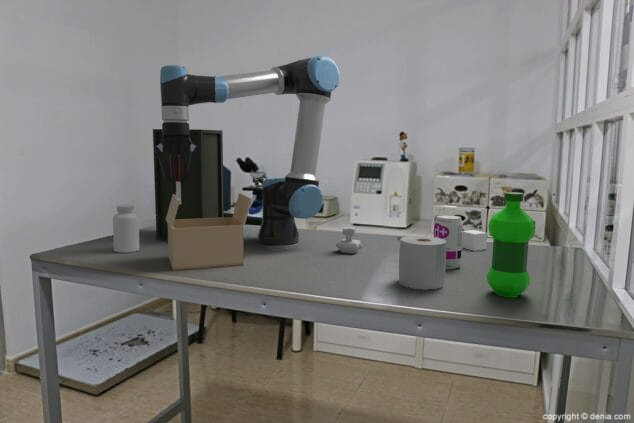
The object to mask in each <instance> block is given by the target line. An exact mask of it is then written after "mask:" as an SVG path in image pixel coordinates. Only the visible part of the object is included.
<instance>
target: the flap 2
mask: <svg viewBox="0 0 634 423" xmlns="http://www.w3.org/2000/svg"><path fill="white" fill-rule="evenodd" d="M251 204H252V198H251V197H249V196H247V195H245V194H243V193H241V192H238V196H237V199H236V203H235V207H234V210H233V214H232V217H233V218H234V219H235V220H237V221H238V222H240V223H241V224H242V225H243V226H245V225H246V223H247V222H246V221H247V218H248V215H249V211H250V207H251Z"/></svg>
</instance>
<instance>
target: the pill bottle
mask: <svg viewBox="0 0 634 423" xmlns="http://www.w3.org/2000/svg"><path fill="white" fill-rule="evenodd" d="M116 212H117V213H115V214H114V215H113V217H112V231H113V232H112V233H113V234H112V235H113V236H112V237H113V251H114V252H115V253H120V254H121V253H123V254H124V253H129V254H130V253H135V252H138V251H139V250H140V219H139V218H140V217H139V215H138V214H137V213H135V205H133V204H118V205H117V206H116Z"/></svg>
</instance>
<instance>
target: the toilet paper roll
mask: <svg viewBox="0 0 634 423" xmlns="http://www.w3.org/2000/svg"><path fill="white" fill-rule="evenodd" d="M398 252H399V254H398V283H399V285H401V286H402V285H403V287H405V286H406V287H405V288H408V287H410V288H409V289H412V288H414V289H413V290H419V289H423V290H424V291H429V290H428V289H434V290H438V289H437V288H439V289H441V287H442V288H443V287H444V286H445V277H446V269H445V268H446V241H445V240H444V239H441V238H436V237H434V236H429V235H427V236H426V235H408V236H403V237H401V238H400V240H399V251H398ZM423 290H422V291H423Z"/></svg>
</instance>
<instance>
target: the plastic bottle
mask: <svg viewBox="0 0 634 423" xmlns="http://www.w3.org/2000/svg"><path fill="white" fill-rule="evenodd" d="M503 194H504V195H503V201H505V206H504V207H503V208H502V209H501V210H499V211H498V212H496V213H495V214H494V215H493V216H492V217H491V218H490V220H489V222H488V234H489V235H490V236H491V237H492V238H493V239H492V240H493V241H492V255H491V256H492V257H491V267H490V268H489V270H488V272H487V273H486V274H487V275H486V282H487V283H488V285H489V286H490V288H491V289H492V290H493V291H494V293H495V294H496V295H497V296H500V297H503V296H505V297H504V298H510V297H511V298H517V297H519V296H520V295H521V294H522V293H524V292H525V291H527V289H528V288H529V286H530V285H531V279H530V278H531V277H530V275H529V273H528V271H527V270H528V269H527V266H528V254H529V241H531V240H532V239H533V238H534V236H535V234H536V227H537V226H536V223H535V220H534V219H533V218H532V217H531V216H530V215H529V214H528V213H527V212H526V211H525V210H523V208H521V205H522V204H521V203H522V202H524V195H525V194H524V193H523V192H516V191H509V192H508V191H506V192H504V193H503ZM518 295H519V296H518ZM516 296H517V297H516Z"/></svg>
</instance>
